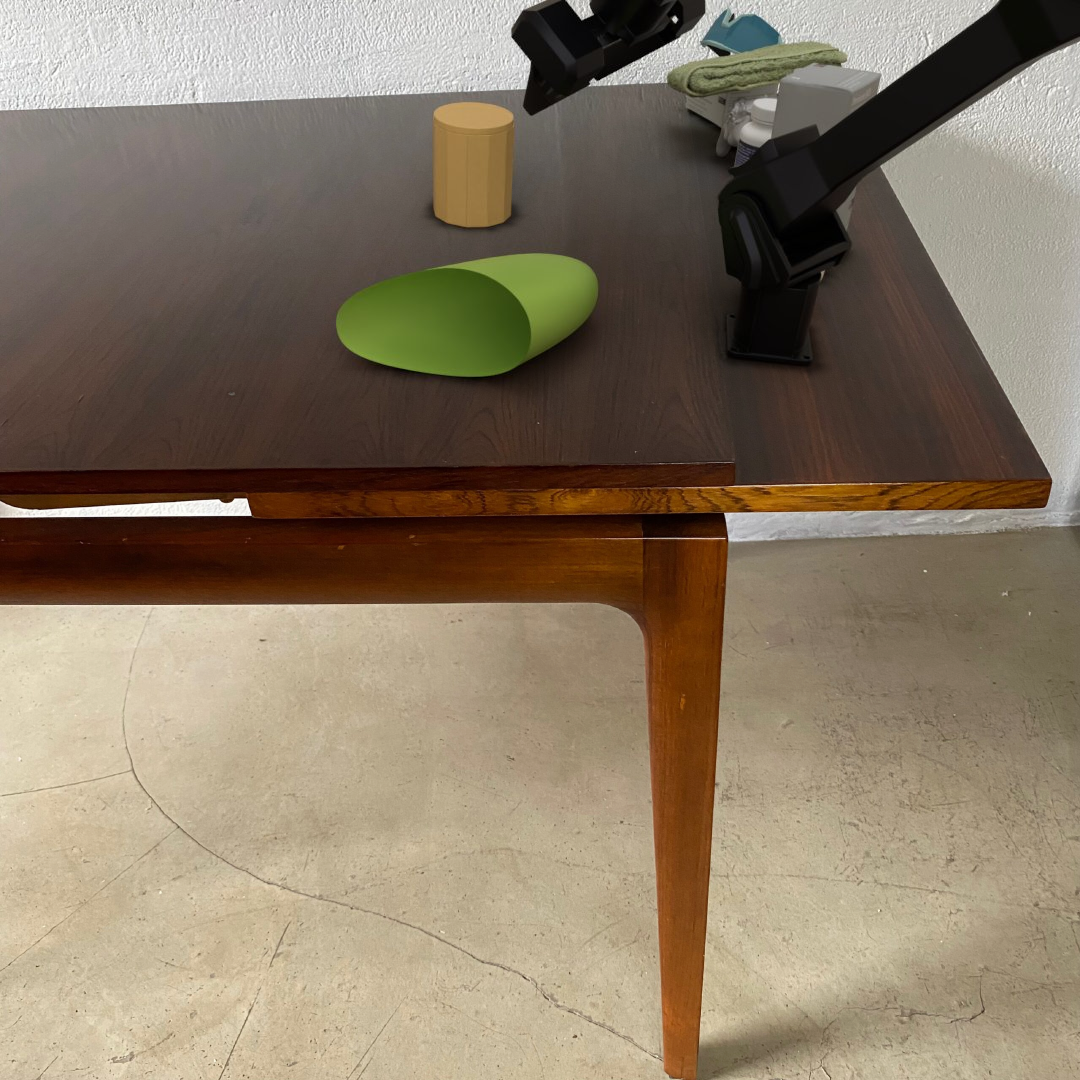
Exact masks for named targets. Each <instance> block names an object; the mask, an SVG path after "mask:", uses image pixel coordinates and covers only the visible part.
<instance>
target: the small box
mask: <svg viewBox="0 0 1080 1080" xmlns="http://www.w3.org/2000/svg"><path fill="white" fill-rule="evenodd" d="M779 85H780V83H775V84H772V85H763V86H760V87H755V88H749V89H747V90H745V91H731V92H728V93H723V94H719V95H712V96H707V97H703V98H700V97H697V98H693V97H690V96H686V99H685V109H687V110H690V111H692V112H694V113H696V114H698V115H699V116H701V117H702V118H704V119H706V120H708V121H710V122H712V123H713V124H715V125H716V126H718V127H719V128H722V126H723V125H724V124H725V123H726V122H727V120H728V117H729V116H731V115H730V113H729V112H730V111H731V112H732V110H733V108H732V105H733V102H734V101H735V100H737V99H738V98H742V97H745V98H746V99H747V100H748V101H749V100H753V99H757V98H758V96H761V97H763V96H764V95H767V96H768V97H773V96H778V91H779ZM686 101H687V102H686Z"/></svg>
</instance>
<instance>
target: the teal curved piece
mask: <svg viewBox="0 0 1080 1080" xmlns="http://www.w3.org/2000/svg"><path fill="white" fill-rule="evenodd" d="M699 43H700V45H701V47H702V48H706V47H707V48H708V49H710V50H711V51H712V52H713V53H714V54H716V55H717V57H724V56H729V55H732V54H733V55H735V54H740V53H743V52H746V51H747V52H748V51H753V50H756V49H759V48H764V47H767V46H772V45H779V44H784V41H783V38H782V34H781V33H779V32H778V31H777V30H776V29H775V28H774V27H773V26H772V25H770V24H769V22H767V21H766V20H765V19H764V18H762V17H760V16H759V15H757V14H755V13H741V14H739V15H738V16H736V15H735V12H733V13H732V9H731V8H730V7H727V8H726V9H725V10H723V11H722V12H721V13H720V15H718V17H717V18H715V20H714V22H713V23H712V25H711V26H710V28H709V29H708V30H707V32H706V34H705V35H704V36H703V38H702V40H700V41H699Z"/></svg>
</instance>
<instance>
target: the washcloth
mask: <svg viewBox="0 0 1080 1080" xmlns="http://www.w3.org/2000/svg"><path fill="white" fill-rule="evenodd" d="M847 61H848V54H847V53H845V52H844V51H842V50H840V48H839V47H835V46H832V44H831V43H829V42H826V43H822V42H820V41H814V40H810V41H805V40H804V41H800V42H791V43H783V44H779V45H772V46H767V47H764V48H759V49H756V50H753V51H748V52H747V51H746V52H743V53H740V54H731V55H729V56H724V57H719V56H715V57H710V58H704V59H701V60H700V59H699V60H693V61H688V62H687V63H684V64H681V65H680V66H677V67H675V68H673V69H671V70H670V72H669V73H668V74H667V75H666V81H667V84H668V85H669V88H671V89H673V90H676V91H677V92H678V93H681V94H683V95H685V96H686V97H687V96H690V97H693V98H697V97H700V98H703V97H707V96H712V95H719V94H723V93H728V92H731V91H745V90H747V89H749V88H755V87H760V86H763V85H772V84H775V83H779V84H780V80H781V79H782V78H784V77H786V76H788V75H790V74H792V73H794V69H797V68H804V67H806V66H808V65H810V64H812V63H819V64H825V65H831V66H838V67H843V65H842V64H845V63H846V62H847Z"/></svg>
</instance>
